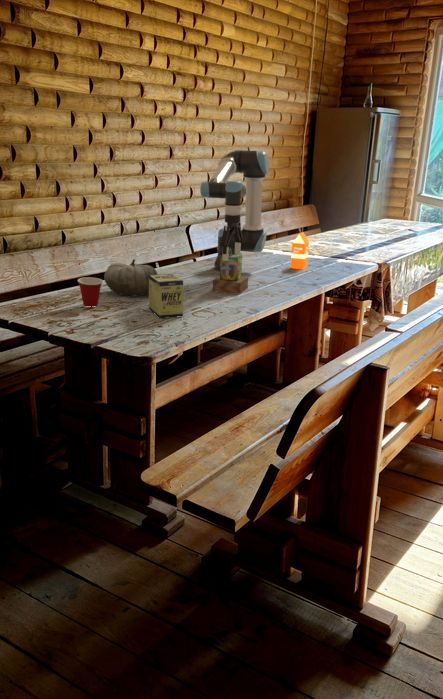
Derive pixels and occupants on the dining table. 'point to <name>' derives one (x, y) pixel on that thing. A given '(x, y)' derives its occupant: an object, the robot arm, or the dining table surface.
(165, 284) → the protein box
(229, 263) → the chalk box
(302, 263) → the orange juice
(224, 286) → the walnut block
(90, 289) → the plastic cup
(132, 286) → the gourd
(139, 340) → the dining table surface
